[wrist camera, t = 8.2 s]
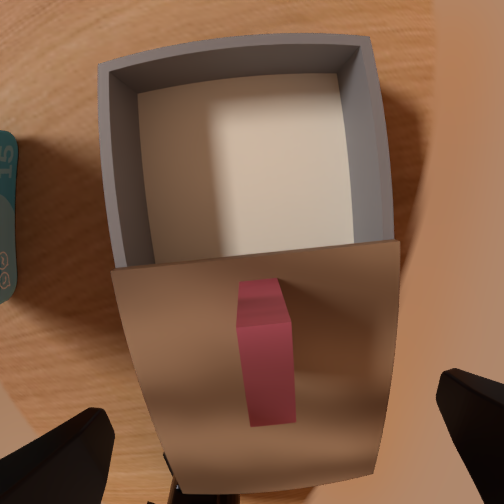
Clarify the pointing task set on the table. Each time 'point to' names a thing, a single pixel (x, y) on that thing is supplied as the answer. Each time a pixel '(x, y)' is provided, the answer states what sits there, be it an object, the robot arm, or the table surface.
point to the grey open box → (243, 147)
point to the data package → (7, 214)
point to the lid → (265, 362)
